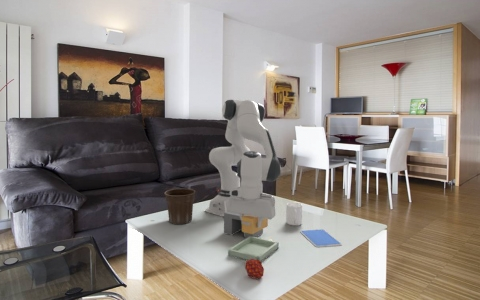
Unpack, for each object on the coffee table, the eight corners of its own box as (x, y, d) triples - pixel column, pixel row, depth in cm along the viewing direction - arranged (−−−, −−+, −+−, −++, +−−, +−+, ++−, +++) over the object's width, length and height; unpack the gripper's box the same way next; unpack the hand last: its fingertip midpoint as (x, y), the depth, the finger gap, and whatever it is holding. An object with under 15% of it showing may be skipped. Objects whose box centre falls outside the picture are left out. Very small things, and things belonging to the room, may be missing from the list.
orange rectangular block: (240, 232, 129) (240, 217, 129) (257, 224, 140) (257, 210, 139) (251, 234, 126) (251, 219, 126) (267, 226, 137) (267, 212, 136)
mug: (303, 228, 163) (304, 208, 162) (287, 228, 164) (287, 208, 163) (300, 221, 175) (301, 202, 174) (285, 220, 176) (285, 202, 175)
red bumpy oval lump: (254, 287, 110) (238, 272, 115) (266, 277, 115) (249, 263, 119) (259, 274, 108) (242, 259, 112) (271, 265, 112) (254, 250, 117)
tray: (228, 255, 130) (228, 249, 130) (250, 241, 146) (250, 236, 145) (258, 263, 123) (258, 257, 123) (278, 248, 138) (278, 242, 138)
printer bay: (223, 233, 156) (223, 212, 155) (234, 227, 164) (235, 208, 164) (252, 239, 148) (253, 218, 147) (262, 233, 156) (263, 213, 155)
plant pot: (181, 228, 162) (181, 196, 161) (158, 222, 171) (157, 192, 169) (201, 219, 176) (201, 190, 175) (179, 215, 185) (179, 187, 183)
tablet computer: (342, 246, 142) (342, 243, 142) (315, 248, 139) (316, 245, 139) (323, 231, 161) (323, 229, 160) (299, 233, 158) (299, 230, 158)
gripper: (278, 193, 127) (277, 228, 128) (234, 188, 137) (234, 219, 138) (271, 197, 121) (270, 232, 122) (226, 190, 132) (226, 223, 133)
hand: (251, 225), depth 131 cm, fingers closed on orange rectangular block, 5 cm apart
